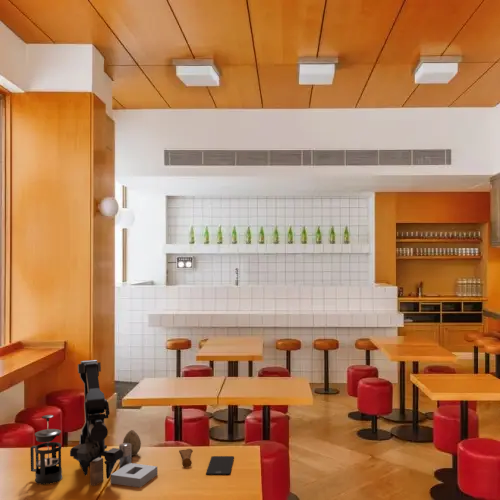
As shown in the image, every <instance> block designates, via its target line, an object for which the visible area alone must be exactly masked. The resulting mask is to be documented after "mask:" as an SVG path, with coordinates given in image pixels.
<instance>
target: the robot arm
mask: <svg viewBox="0 0 500 500" xmlns="http://www.w3.org/2000/svg"><path fill="white" fill-rule="evenodd" d="M101 366H102V365H101V362H98V360H97V359H94V360H93V359H91V360H90V359H89V360H80V363H78V364H77V374H79V378H80V379H81V381H82V383H83V386H84V387H83V388H84V389H83V390H84V391H83V393H84V403H83V406H84V407H83V409H84V418H85V419H84V421H85V422H84V424H83V426H82V428H81V434H79V444H77V445H74V446H73V447H71V448H70V450H69V457H72V459H74V460H76V461H77V462H78V464H79V466H80V467H81V470H82V473H83V475H84V476H85V477H86V476H88V472H89V467H90V462H91V461H93V460H95V459H96V458H98V457H99V458H102V457H104V460H105V461H103V464H105V473H106V474H105V478H106V479H107V480H109V479H110V478H111V474H112V473H113V470H114V467H115V466H116V464H117V461H118V460H119V459H120V458H122V457H123V451H122V449H119V448H117V447H116V448H115V447H112V448H110V449H109V450H106V449H107V448H108V446H107V445H106V443H105V440H106V438H107V436H108V434H109V430H108V427H107V426H106V423H105V419H106V420H107V419H109V416H110V406H109V401H108V399H106V397H105V393H104V392H103V391H102V390H101V389H100V381H99V377H100V376H99V375H100V372H102V367H101ZM119 461H120V460H119Z"/></svg>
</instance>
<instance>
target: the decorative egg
mask: <svg viewBox="0 0 500 500" xmlns="http://www.w3.org/2000/svg"><path fill="white" fill-rule="evenodd" d="M122 440H123V441H122V443H130V444H131V455H132V456H134V455H136V454H138V453H139V452H140V449H141V446H142V440H141V437H140V436H139V434H138V433H137V432H136V431H135V430H132V429H130V430H129V431H128V432H127V433H126V434H125V436H124V437H123V439H122Z"/></svg>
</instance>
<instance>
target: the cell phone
mask: <svg viewBox="0 0 500 500" xmlns="http://www.w3.org/2000/svg"><path fill="white" fill-rule="evenodd" d="M233 459H234V460H235V456H232V455H228V456H227V455H216V456H215V455H214V456H211V458H210V460H209V462H208V466H207V469H206V473H205V475H207V476H231V473H232V469H233V468H232V467H233V464H234V460H233ZM231 468H232V469H231Z"/></svg>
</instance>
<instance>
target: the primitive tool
mask: <svg viewBox="0 0 500 500" xmlns="http://www.w3.org/2000/svg"><path fill="white" fill-rule="evenodd" d="M178 452H179V454H180V456H181V458H182V462H181V464H182V467H184V468H189V466H190V467H191V466H192V464H193V462H192V460H191V456H192V453H193V449H192V448H186V449H180V450H178Z"/></svg>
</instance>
